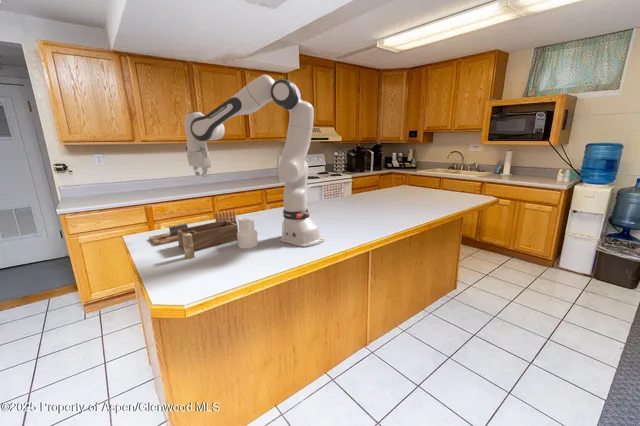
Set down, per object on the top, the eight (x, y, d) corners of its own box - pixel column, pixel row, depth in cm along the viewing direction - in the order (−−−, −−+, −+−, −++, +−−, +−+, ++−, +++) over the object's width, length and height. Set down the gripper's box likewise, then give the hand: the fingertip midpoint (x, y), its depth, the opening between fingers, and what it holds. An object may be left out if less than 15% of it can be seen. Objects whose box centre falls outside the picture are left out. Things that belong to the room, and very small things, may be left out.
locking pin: (192, 255, 125) (189, 233, 123) (194, 257, 123) (191, 234, 121) (184, 257, 123) (181, 234, 121) (187, 259, 121) (184, 236, 119)
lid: (209, 233, 153) (207, 223, 152) (156, 245, 137) (154, 234, 136) (199, 228, 163) (198, 218, 161) (149, 239, 147) (147, 228, 145)
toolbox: (238, 240, 143) (237, 224, 141) (187, 253, 127) (185, 235, 125) (227, 234, 152) (226, 219, 150) (179, 246, 136) (176, 229, 134)
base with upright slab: (261, 244, 136) (259, 219, 133) (244, 250, 130) (242, 224, 127) (251, 240, 143) (249, 216, 140) (234, 245, 136) (231, 220, 133)
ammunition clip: (217, 233, 153) (214, 211, 150) (216, 232, 155) (214, 210, 152) (237, 230, 158) (235, 209, 155) (237, 229, 160) (235, 208, 157)
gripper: (212, 147, 136) (216, 177, 140) (196, 147, 151) (199, 174, 155) (198, 147, 132) (202, 178, 136) (183, 147, 147) (187, 175, 151)
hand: (201, 176), depth 145 cm, fingers open, 8 cm apart
